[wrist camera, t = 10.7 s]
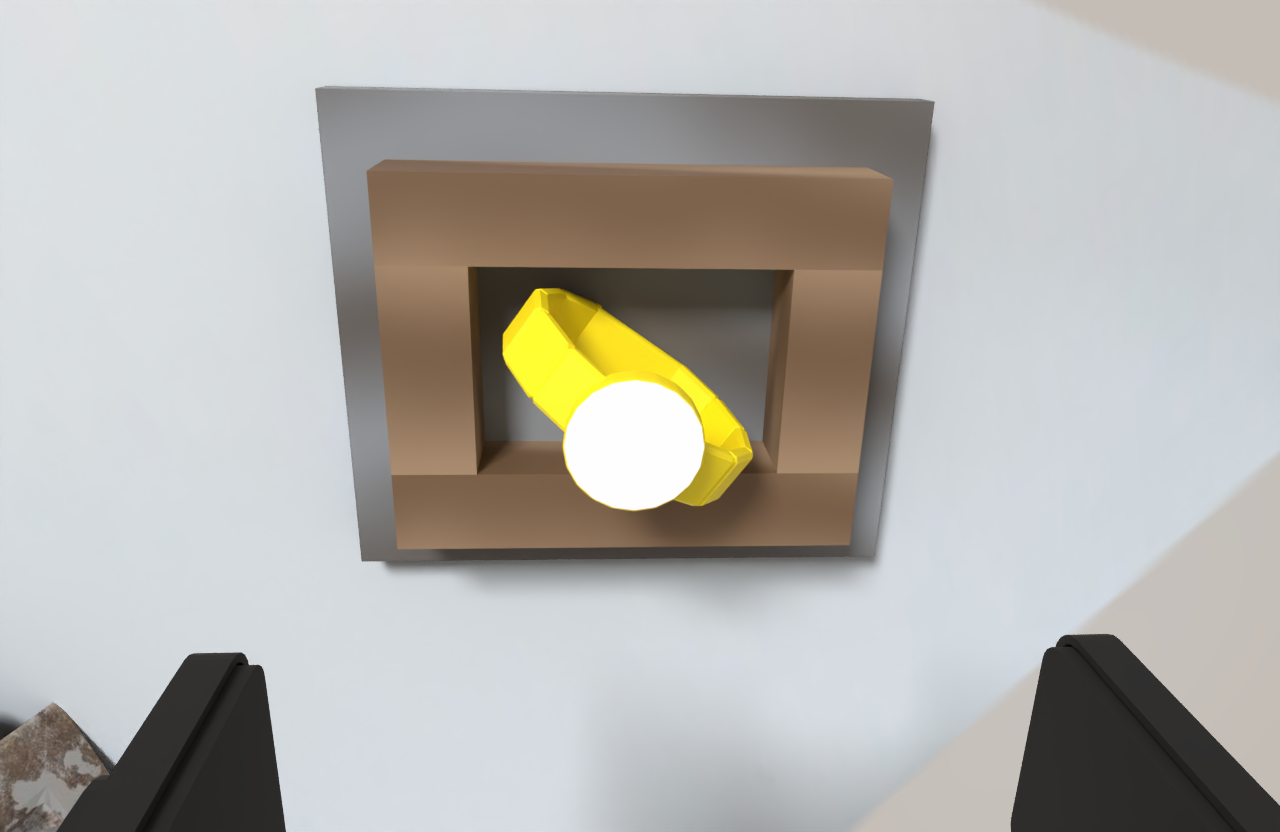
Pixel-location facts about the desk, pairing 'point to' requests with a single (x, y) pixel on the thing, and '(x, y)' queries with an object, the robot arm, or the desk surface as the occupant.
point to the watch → (623, 406)
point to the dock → (619, 305)
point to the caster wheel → (44, 772)
